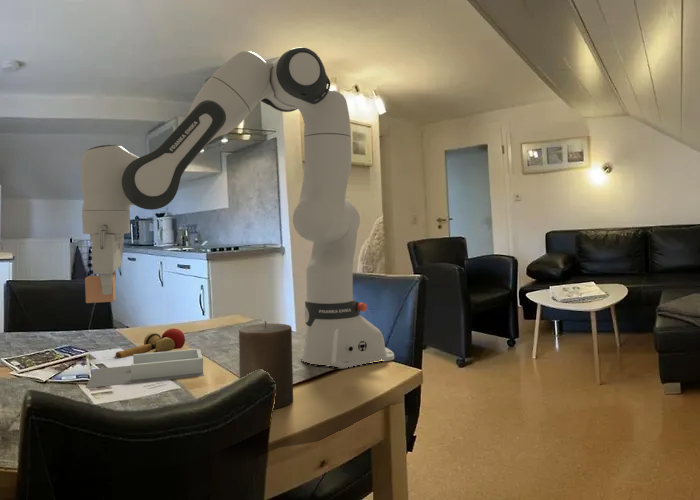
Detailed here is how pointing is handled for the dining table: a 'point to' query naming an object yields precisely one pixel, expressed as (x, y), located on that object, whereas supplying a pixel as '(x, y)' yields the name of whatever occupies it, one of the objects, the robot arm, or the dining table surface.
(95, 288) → the terracotta block
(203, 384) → the dining table surface
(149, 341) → the kendama
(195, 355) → the channel
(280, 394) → the pillar candle
